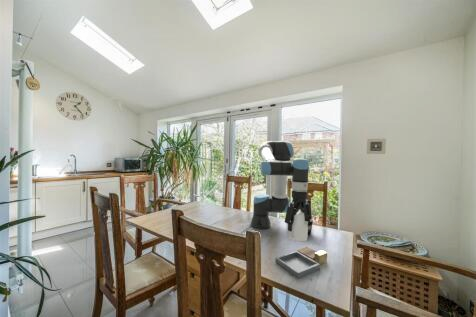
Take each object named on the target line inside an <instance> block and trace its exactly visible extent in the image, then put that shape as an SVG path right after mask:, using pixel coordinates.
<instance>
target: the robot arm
mask: <svg viewBox="0 0 476 317" xmlns="http://www.w3.org/2000/svg"><path fill="white" fill-rule="evenodd" d="M258 155H259V157H260V158H261V162H260V173H261V175H263V176H274V191H273V192H272V194H271V196H270V195H269V194H266V193H264V194H257V195H255V196H254V197H253V207H252V208H253V210H252V218H251V220H250V226H251V227H252V228H254V229H257V230H265V229H266V230H267V229H270V228H271V220H270V216H269V215H270V214H269V213H272V214H273V213H275V214H285V218H284V223H286V224H287V230H288V234H287V236H288V238H289V237H291V238H294V224H293V222H294V215H296V214H297V212H298V211H301V212H303V213H304V216H305V224H306V225H307V226H308V221H309V222H310V219H312V212H311V200H309V199H308V193H309V192H308V189H309V188H308V187H309V186H308V185H309V170H310V169H309V168H310V165H309V159H306V158H294V159H292V158H293V157H294V146H293V144H292V142H290V141H284V140H282V141H280V140H276V141H275V140H269V141H266V142H263V143H262V144H261V145H260V146H259V148H258ZM291 159H292V161H291ZM289 176H291V198H292V201H291V199H290V198H289V196H288V194H287V183H288V177H289Z"/></svg>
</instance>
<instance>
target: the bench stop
mask: <svg viewBox="0 0 476 317" xmlns="http://www.w3.org/2000/svg"><path fill="white" fill-rule="evenodd" d="M314 261H315V262H317V263H319V264H320V266H321V265H323V264H326V263H327V262H328V252H326V251H325V250H323V249H321V250H318V251H316V253H315V258H314Z"/></svg>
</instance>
